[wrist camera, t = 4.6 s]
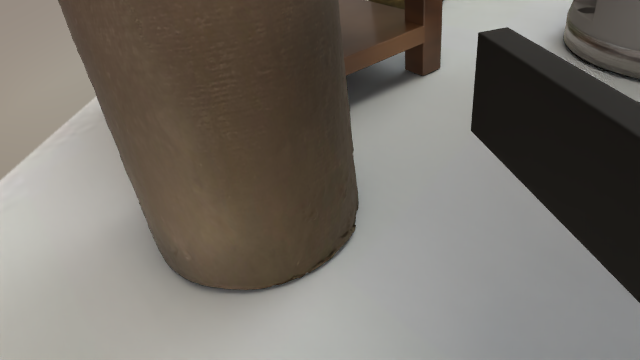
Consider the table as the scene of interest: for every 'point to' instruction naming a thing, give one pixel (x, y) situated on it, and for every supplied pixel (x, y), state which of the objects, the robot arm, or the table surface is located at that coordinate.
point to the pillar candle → (228, 129)
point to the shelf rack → (391, 34)
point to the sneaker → (392, 3)
